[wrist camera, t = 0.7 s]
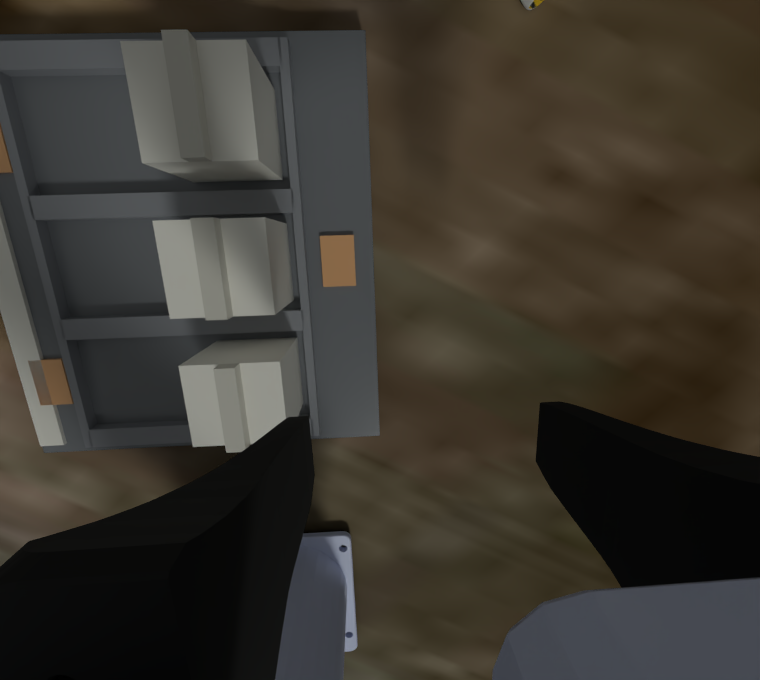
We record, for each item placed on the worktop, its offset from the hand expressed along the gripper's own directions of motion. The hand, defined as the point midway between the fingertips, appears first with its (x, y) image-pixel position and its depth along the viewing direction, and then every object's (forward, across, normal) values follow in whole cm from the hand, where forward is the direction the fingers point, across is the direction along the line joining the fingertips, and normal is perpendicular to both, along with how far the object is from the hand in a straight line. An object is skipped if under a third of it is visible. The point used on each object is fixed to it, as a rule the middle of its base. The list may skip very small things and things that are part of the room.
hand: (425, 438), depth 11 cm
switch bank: (+9, +10, -5) cm, 15 cm away
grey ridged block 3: (+8, +7, 0) cm, 11 cm away
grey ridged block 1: (+8, +7, -11) cm, 15 cm away
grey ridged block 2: (+8, +7, -5) cm, 12 cm away
